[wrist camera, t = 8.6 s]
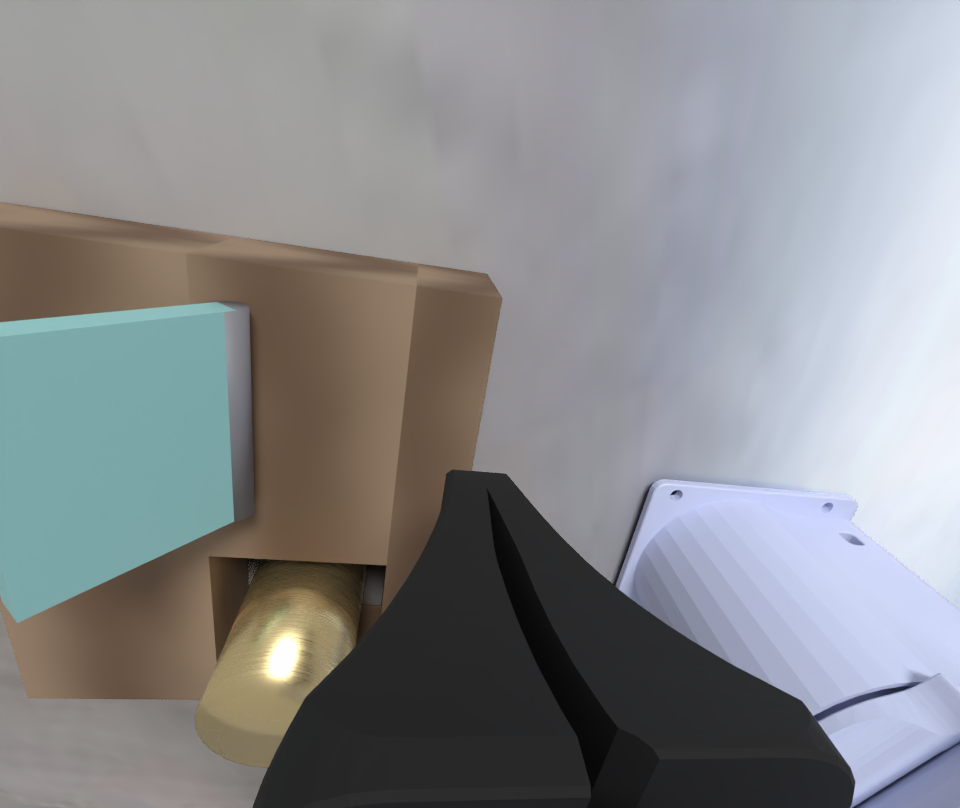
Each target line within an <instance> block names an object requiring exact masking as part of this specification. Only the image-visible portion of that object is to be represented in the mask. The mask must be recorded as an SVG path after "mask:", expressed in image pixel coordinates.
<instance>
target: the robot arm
mask: <svg viewBox="0 0 960 808" xmlns="http://www.w3.org/2000/svg"><path fill="white" fill-rule="evenodd" d="M675 490H678V491H677V492H676V493H675V494H674V495H671V493H672V492H673V491H675ZM857 507H858V502H857V501H856V500H855V499H853V498H852V497H851V496H849V495H842V494H830V493H819V492H807V491H795V490H784V489H772V488H760V487H749V486H737V485H726V484H714V483H702V482H691V481H679V480H667V479H663V480H658V481H656V482H655V483H654V484H652V486H651V488H650V490H649V493H648V495H647V498H646V501H645V504H644V507H643V510H642V512H641V515H640V518H639V521H638V524H637V527H636V529H635V532H634V535H633V538H632V541H631V544H630V546H629V549H628V552H627V555H626V558H625V561H624V563H623V566H622V569H621V572H620V575H619V578H618V580H617V583H616V586H614V585H613V584H612V583H611V582H610V581H608V580H607V579H606V578H605V577H604V576H602V575H601V574H600V573H599V572H597V571H596V570H595V569H594V568H593V567H592V566H591V565H590V564H589V563H587V562H586V561H585V560H584V559H583V558H582V557H581V556H580V555H579V554H578V553H577V552H576V551H575V550H574V549H573V548H572V547H571V546H570V545H569V544H568V543H567V542H566V541H565V540H564V539H563V538H562V537H561V536H560V535H559V534H558V533H557V532H556V531H555V530H554V529H553V528H552V527H551V525H550V524H549V523H548V522H547V521H546V520H545V519H544V518H543V517H542V515H541V514H540V513H539V512H538V511H537V510H536V509H535V507H534V506H533V505H532V504H531V503H530V502H529V500H528V499H527V498H526V497H525V496H524V494H523V493H522V492H521V491H520V490H519V488H518V487H517V486H516V485H515V484H514V482H513V481H512V480H511V479H510V478H509V477H508V475H507V474H502V473H489V472H477V471H465V470H453V469H452V470H451V471H449V472H448V473H446V479H445V485H444V492H443V498H442V504H441V511H440V514H439V516H438V519H437V522H436V524H435V527H434V529H433V531H432V533H431V535H430V537H429V540H428V542H427V544H426V546H425V548H424V550H423V552H422V554H421V556H420V557H419V559H418V561H417V563H416V565H415V566H414V568H413V570H412V571H411V573H410V575H409V576H408V578H407V579H406V581H405V583H404V584H403V585H402V587H401V588H400V590H399V591H398V593H397V594H396V596H395V597H394V599H393V600H392V601H391V603H390V604H389V606H388V607H387V608H386V610H385V611H384V612H383V614H382V615H381V616H380V617H379V619H378V620H377V621H376V622H375V623H374V625H373V626H372V627H371V628H370V629H369V631H368V632H367V633H366V634H365V635H364V636H363V638H362V639H361V640H360V641H359V642H358V644H357V645H356V646H355V647H354V648H353V650H352V651H351V652H350V653H349V654H348V655H347V656H346V657H345V658H344V659H343V660H342V661H341V662H340V663H339V664H338V665H337V666H336V667H335V668H334V669H333V670H332V671H331V672H330V673H329V674H328V675H327V676H326V677H325V678H324V679H323V680H322V681H321V682H320V683H319V684H318V685H317V686H316V687H315V688H314V689H313V690H312V691H311V692H310V693H309V694H308V695H307V696H306V697H305V699H304V701H303V703H302V704H301V706H300V708H299V710H298V711H297V713H296V715H295V717H294V719H293V720H292V722H291V724H290V726H289V728H288V729H287V731H286V733H285V735H284V737H283V739H282V741H281V743H280V745H279V747H278V749H277V751H276V752H275V755H274V757H273V759H272V761H271V763H270V765H269V767H268V769H267V772H266V774H265V776H264V779H263V781H262V784H261V786H260V789H259V791H258V794H257V797H256V799H255V802H254V805H253V808H960V610H959V609H958V608H957V607H956V606H955V605H953V604H952V603H951V602H950V601H948V600H947V599H946V598H945V597H943V596H942V595H941V594H940V593H939V592H937V591H936V590H935V589H934V588H932V587H931V586H930V585H929V584H927V583H926V582H925V581H924V580H923V579H921V578H920V577H919V576H918V575H916V574H915V573H914V572H913V571H911V570H910V569H909V568H908V567H907V566H905V565H904V564H903V563H902V562H900V561H899V560H898V559H897V558H895V557H894V556H893V555H892V554H891V553H889V552H888V551H887V550H886V549H884V548H883V547H882V546H881V545H879V544H878V543H877V542H876V541H875V540H873V539H872V538H871V537H870V536H868V535H867V534H866V533H865V532H863V531H862V530H861V529H860V528H859V527H857V526H856V525H855V524H854V523H852V522H851V519H852V517H853V516H854V514H855V512H856V510H857Z"/></svg>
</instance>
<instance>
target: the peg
mask: <svg viewBox="0 0 960 808" xmlns="http://www.w3.org/2000/svg"><path fill="white" fill-rule="evenodd" d="M366 571H367V564H350V563H331V562H311V561H292V560H273V559H261V560H260V562H259V565H258V567H257V570H256V572H255V574H254V577H253V579H252V581H251V584H250V586H249V588H248V591H247V593H246V595H245V598H244V600H243V603H242V605H241V607H240V610H239V612H238V614H237V617H236V619H235V621H234V624H233V626H232V628H231V631H230V633H229V636H228V638H227V640H226V643H225V645H224V647H223V650H222V652H221V654H220V657H219V659H218V661H217V664H216V666H215V669H214V671H213V673H212V676H211V678H210V680H209V683H208V685H207V687H206V690H205V692H204V694H203V697H202V699H201V702H200V704H199V706H198V709H197V711H196V715H195V727H196V731H197V733H198V735H199V737H200V739H201V740H202V741H203V743H204V744H205V745H206V746H207V747H208V748H210V749H211V750H212V751H213V752H215V753H216V754H218V755H219V756H221V757H223V758H226V759H228V760H230V761H233V762H236V763H239V764H243V765H248V766H253V767H263V768H268V767H269V765H270V763H271V761H272V759H273V757H274V755H275V752H276V751H277V749H278V747H279V745H280V743H281V741H282V739H283V737H284V735H285V733H286V731H287V729H288V728H289V726H290V724H291V722H292V720H293V719H294V717H295V715H296V713H297V711H298V710H299V708H300V706H301V704H302V703H303V701H304V699H305V697H306V696H307V695H308V694H309V693H310V692H311V691H312V690H313V689H314V688H315V687H316V686H317V685H318V684H319V683H320V682H321V681H322V680H323V679H324V678H325V677H326V676H327V675H328V674H329V673H330V672H331V671H332V670H333V669H334V668H335V667H336V666H337V665H338V664H339V663H340V662H341V661H342V660H343V659H344V658H345V657H346V656H347V655H348V654H349V653H350V652H351V651H352V650H353V648H354V647H355V646H356V640H357V633H358V627H359V620H360V613H361V606H362V599H363V592H364V585H365V578H366Z"/></svg>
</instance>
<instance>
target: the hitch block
mask: <svg viewBox="0 0 960 808" xmlns="http://www.w3.org/2000/svg"><path fill="white" fill-rule="evenodd" d="M210 301H235V302H240V303H244V304H246V305H248V306H249V315H250V352H251V389H252V427H253V464H254V502H255V510H254V513H253V514H252V515H251V516H249V517H248V518H246V519H244V520H240V521H234V522H232V523H230V524H228V525H226V526H223V527H221V528H219V529H217V530H215V531H213V532H211V533H208V534H206V535H204V536H202V537H200V538H198V539H196V540H194V541H191V542H189V543H187V544H185V545H183V546H181V547H179V548H176V549H174V550H172V551H170V552H168V553H166V554H164V555H162V556H159V557H157V558H155V559H153V560H151V561H149V562H147V563H144V564H142V565H140V566H138V567H136V568H134V569H132V570H129V571H127V572H125V573H123V574H121V575H119V576H117V577H115V578H112V579H110V580H108V581H106V582H104V583H102V584H100V585H97V586H95V587H93V588H91V589H89V590H87V591H85V592H83V593H80V594H78V595H76V596H74V597H72V598H70V599H68V600H65V601H63V602H61V603H59V604H57V605H55V606H53V607H51V608H48V609H46V610H44V611H42V612H40V613H38V614H36V615H33V616H31V617H29V618H27V619H25V620H23V621H21V622H19V623H17V622H16V621H15V619H14V618H13V617H12V615H11V614H10V612H9V611H8V610H7V608H6V607H5V605H4V604H3V603H2V600H1V596H0V609H1V612H2V615H3V618H4V622H5V625H6V628H7V632H8V635H9V638H10V641H11V645H12V648H13V651H14V655H15V658H16V661H17V664H18V668H19V671H20V674H21V677H22V681H23V684H24V687H25V691H26V694H27V697H28V698H64V699H176V700H201V699H202V697H203V694H204V692H205V690H206V687H207V685H208V683H209V680H210V678H211V676H212V673H213V671H214V669H215V666H216V664H217V661H218V659H219V657H220V654H221V652H222V650H223V647H224V645H225V643H226V640H227V638H228V636H229V633H230V631H231V628H232V626H233V624H234V621H235V619H236V617H237V614H238V612H239V610H240V607H241V605H242V603H243V600H244V598H245V595H246V593H247V591H248V561H247V558H253V559H273V560H292V561H311V562H331V563H350V564H370V565H386V568H385V577H384V587H383V596H382V605H381V606H373V605H362V606H361V613H360V620H359V627H358V633H357V640H356V645H357V644H358V642H359V641H360V640H361V639H362V638H363V636H364V635H365V634H366V633H367V632H368V631H369V629H370V628H371V627H372V626H373V625H374V623H375V622H376V621H377V620H378V619H379V617H380V616H381V615H382V614H383V612H384V611H385V610H386V608H387V607H388V606H389V604H390V603H391V601H392V600H393V599H394V597H395V596H396V594H397V593H398V591H399V590H400V588H401V587H402V585H403V584H404V583H405V581H406V579H407V578H408V576H409V575H410V573H411V571H412V570H413V568H414V566H415V565H416V563H417V561H418V559H419V557H420V556H421V554H422V552H423V550H424V548H425V546H426V544H427V542H428V540H429V537H430V535H431V533H432V531H433V529H434V527H435V524H436V522H437V519H438V516H439V514H440V511H441V504H442V498H443V492H444V485H445V479H446V473H448V472H449V471H451V470H452V469H453V470H465V471H471V470H472V465H473V459H474V454H475V448H476V442H477V437H478V431H479V426H480V420H481V414H482V409H483V403H484V398H485V392H486V387H487V381H488V375H489V370H490V364H491V359H492V353H493V347H494V342H495V336H496V331H497V325H498V319H499V314H500V308H501V303H502V297H501V295H500V293H499V292H498V290H497V289H496V287H495V286H494V284H493V282H492V281H491V279H490V278H489V276H488V274H484V273H477V272H471V271H464V270H457V269H450V268H443V267H437V266H430V265H423V264H416V263H409V262H403V261H396V260H389V259H382V258H375V257H369V256H362V255H355V254H348V253H342V252H335V251H328V250H321V249H314V248H308V247H301V246H294V245H287V244H280V243H274V242H267V241H260V240H253V239H246V238H240V237H233V236H226V235H219V234H212V233H206V232H199V231H192V230H185V229H178V228H172V227H165V226H158V225H151V224H145V223H138V222H131V221H124V220H117V219H111V218H104V217H97V216H90V215H83V214H77V213H70V212H63V211H56V210H49V209H43V208H36V207H29V206H22V205H15V204H9V203H2V202H1V203H0V322H9V321H19V320H30V319H41V318H51V317H62V316H73V315H83V314H94V313H105V312H115V311H126V310H137V309H147V308H158V307H169V306H179V305H190V304H201V303H206V302H210Z"/></svg>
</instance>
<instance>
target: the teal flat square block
mask: <svg viewBox="0 0 960 808" xmlns="http://www.w3.org/2000/svg"><path fill="white" fill-rule="evenodd" d="M254 510H255V502H254V464H253V427H252V389H251V352H250V315H249V306H248V305H246V304H244V303H240V302H235V301H210V302H206V303H201V304H190V305H179V306H169V307H158V308H147V309H137V310H126V311H115V312H105V313H94V314H83V315H73V316H62V317H51V318H41V319H30V320H19V321H9V322H0V596H1V600H2V603H3V604H4V605H5V607H6V608H7V610H8V611H9V612H10V614H11V615H12V617H13V618H14V619H15V621H16V622H17V623H19V622H21V621H23V620H25V619H27V618H29V617H31V616H33V615H36V614H38V613H40V612H42V611H44V610H46V609H48V608H51V607H53V606H55V605H57V604H59V603H61V602H63V601H65V600H68V599H70V598H72V597H74V596H76V595H78V594H80V593H83V592H85V591H87V590H89V589H91V588H93V587H95V586H97V585H100V584H102V583H104V582H106V581H108V580H110V579H112V578H115V577H117V576H119V575H121V574H123V573H125V572H127V571H129V570H132V569H134V568H136V567H138V566H140V565H142V564H144V563H147V562H149V561H151V560H153V559H155V558H157V557H159V556H162V555H164V554H166V553H168V552H170V551H172V550H174V549H176V548H179V547H181V546H183V545H185V544H187V543H189V542H191V541H194V540H196V539H198V538H200V537H202V536H204V535H206V534H208V533H211V532H213V531H215V530H217V529H219V528H221V527H223V526H226V525H228V524H230V523H232V522H234V521H240V520H244V519H246V518H248V517H249V516H251V515H252V514H253V513H254Z"/></svg>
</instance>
